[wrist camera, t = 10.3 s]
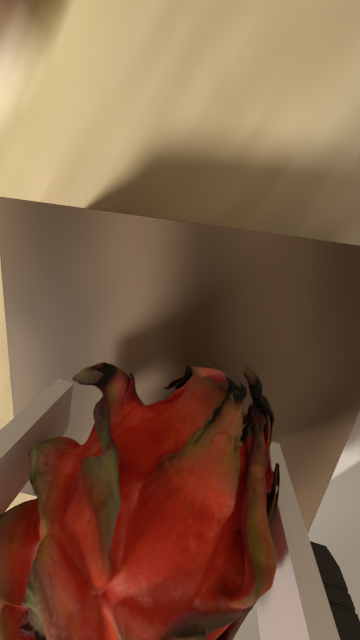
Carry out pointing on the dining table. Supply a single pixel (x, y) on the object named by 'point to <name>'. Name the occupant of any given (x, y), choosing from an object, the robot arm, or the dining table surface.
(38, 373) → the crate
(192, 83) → the dining table surface
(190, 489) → the dragon fruit
